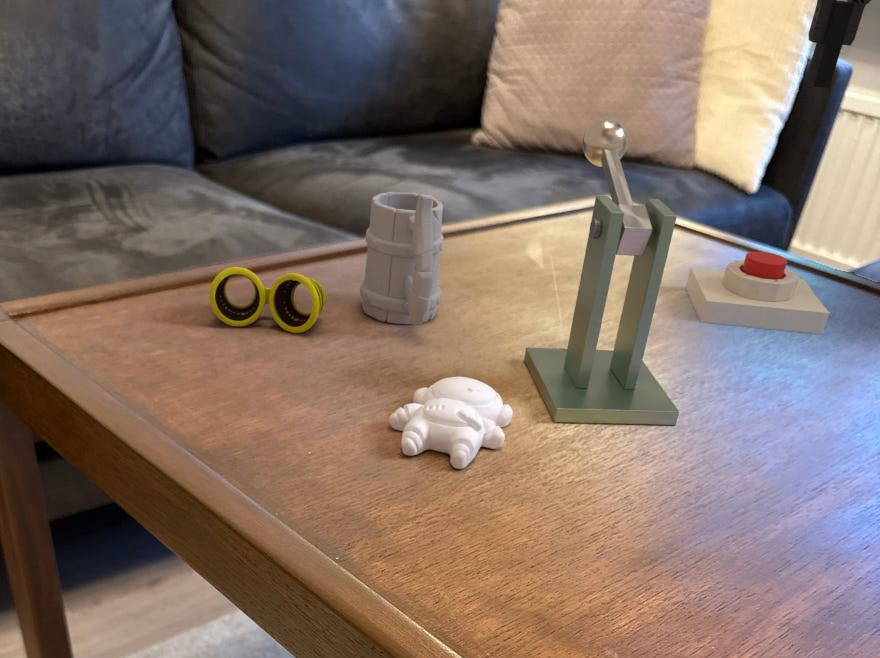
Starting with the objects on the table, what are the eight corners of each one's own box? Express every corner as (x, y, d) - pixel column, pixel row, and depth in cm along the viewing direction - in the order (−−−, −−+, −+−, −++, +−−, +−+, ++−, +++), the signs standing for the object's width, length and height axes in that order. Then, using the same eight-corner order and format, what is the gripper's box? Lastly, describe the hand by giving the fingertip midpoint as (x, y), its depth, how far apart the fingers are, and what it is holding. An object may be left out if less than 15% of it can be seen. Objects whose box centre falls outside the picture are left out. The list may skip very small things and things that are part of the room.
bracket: (523, 360, 86) (552, 180, 77) (633, 363, 87) (674, 186, 78) (554, 422, 77) (591, 226, 68) (676, 425, 78) (728, 233, 69)
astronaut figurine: (367, 447, 71) (369, 409, 69) (429, 388, 80) (432, 352, 78) (479, 478, 69) (485, 439, 67) (530, 413, 78) (537, 377, 76)
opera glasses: (325, 327, 91) (328, 270, 88) (317, 337, 86) (320, 277, 84) (222, 316, 91) (222, 259, 89) (208, 325, 86) (208, 265, 84)
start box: (797, 299, 105) (809, 261, 102) (821, 334, 97) (836, 294, 94) (685, 288, 105) (694, 250, 102) (700, 322, 97) (711, 282, 94)
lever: (574, 148, 82) (586, 106, 79) (616, 150, 82) (629, 109, 79) (603, 261, 75) (618, 220, 72) (649, 263, 75) (665, 222, 72)
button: (776, 271, 100) (782, 253, 99) (786, 284, 97) (791, 266, 96) (737, 267, 100) (742, 249, 99) (745, 280, 97) (750, 262, 96)
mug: (427, 295, 97) (439, 164, 90) (461, 343, 88) (477, 202, 81) (351, 296, 95) (357, 162, 88) (378, 344, 86) (387, 201, 79)
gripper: (848, -270, 74) (756, 86, 88) (1022, -255, 73) (900, 98, 88) (820, -260, 79) (738, 72, 94) (981, -247, 79) (874, 83, 94)
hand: (817, 84), depth 91 cm, fingers closed
